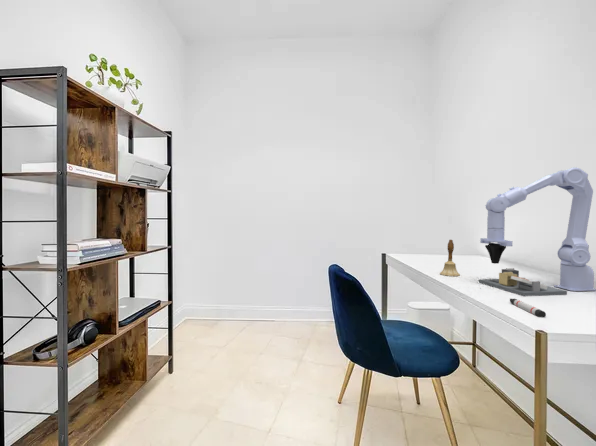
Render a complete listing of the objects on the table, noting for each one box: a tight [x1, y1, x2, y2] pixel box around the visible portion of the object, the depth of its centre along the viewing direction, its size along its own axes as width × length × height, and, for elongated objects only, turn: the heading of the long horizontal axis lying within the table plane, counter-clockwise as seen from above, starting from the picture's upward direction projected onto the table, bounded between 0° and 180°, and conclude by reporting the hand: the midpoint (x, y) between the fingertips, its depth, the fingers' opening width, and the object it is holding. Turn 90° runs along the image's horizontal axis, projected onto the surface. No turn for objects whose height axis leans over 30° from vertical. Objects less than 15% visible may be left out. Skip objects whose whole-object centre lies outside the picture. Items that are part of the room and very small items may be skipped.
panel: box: [478, 277, 568, 297], centre depth 121 cm, size 16×22×5 cm
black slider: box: [501, 267, 520, 277], centre depth 128 cm, size 4×4×5 cm
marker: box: [509, 298, 547, 318], centre depth 94 cm, size 15×2×2 cm, turn 175°
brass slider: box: [498, 272, 517, 286], centre depth 120 cm, size 4×4×5 cm
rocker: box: [511, 276, 548, 290], centre depth 113 cm, size 10×5×1 cm, turn 98°
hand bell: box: [439, 239, 461, 277], centre depth 147 cm, size 8×8×16 cm
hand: (495, 263), depth 126 cm, fingers closed
